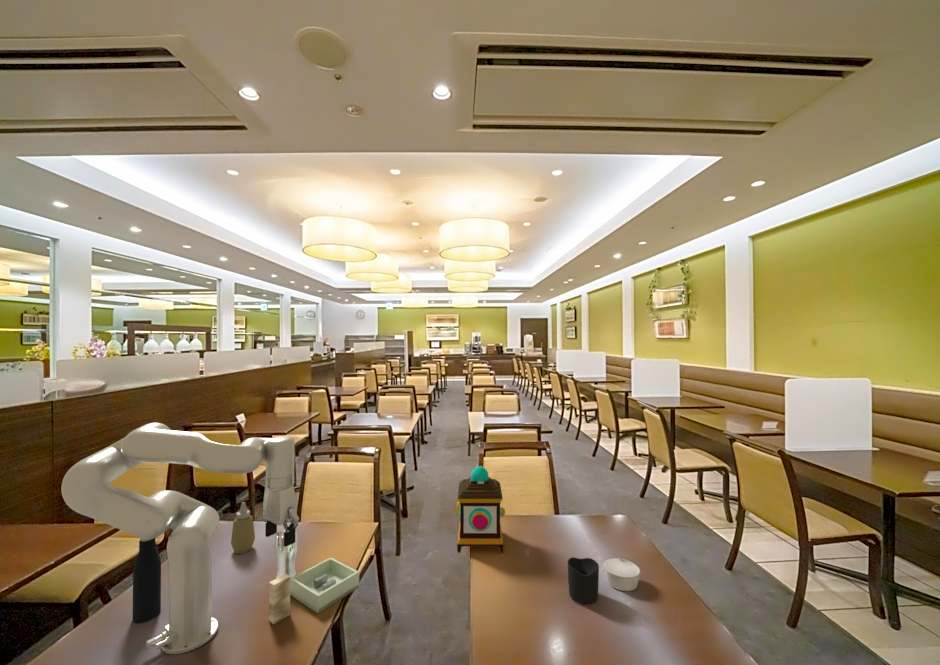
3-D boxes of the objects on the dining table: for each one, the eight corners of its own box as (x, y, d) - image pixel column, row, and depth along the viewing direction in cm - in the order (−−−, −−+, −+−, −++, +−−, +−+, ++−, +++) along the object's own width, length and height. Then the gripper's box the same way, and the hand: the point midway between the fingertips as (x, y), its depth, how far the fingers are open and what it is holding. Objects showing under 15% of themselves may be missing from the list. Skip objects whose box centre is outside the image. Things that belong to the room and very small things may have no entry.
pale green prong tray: (318, 613, 118) (318, 596, 118) (289, 594, 127) (289, 578, 127) (359, 587, 130) (359, 571, 130) (330, 571, 139) (330, 557, 139)
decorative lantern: (507, 556, 149) (506, 474, 149) (453, 555, 149) (453, 474, 149) (503, 530, 169) (502, 458, 169) (456, 530, 169) (456, 458, 169)
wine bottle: (137, 626, 113) (138, 519, 113) (128, 618, 116) (129, 514, 116) (164, 613, 118) (165, 511, 118) (155, 605, 121) (156, 506, 122)
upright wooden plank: (273, 624, 113) (273, 585, 114) (268, 620, 115) (269, 582, 115) (290, 614, 117) (290, 576, 118) (285, 611, 119) (285, 573, 119)
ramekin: (645, 582, 132) (645, 566, 132) (632, 598, 124) (632, 581, 124) (612, 569, 140) (612, 554, 140) (598, 583, 132) (598, 567, 132)
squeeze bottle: (259, 548, 155) (259, 501, 155) (237, 557, 148) (238, 508, 148) (247, 542, 159) (248, 496, 159) (226, 551, 152) (226, 504, 152)
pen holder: (577, 583, 132) (577, 552, 132) (604, 596, 125) (604, 564, 125) (562, 596, 125) (561, 564, 125) (589, 610, 119) (589, 576, 119)
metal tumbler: (288, 584, 132) (288, 538, 132) (269, 581, 133) (270, 536, 134) (301, 572, 139) (301, 528, 139) (283, 569, 140) (283, 526, 140)
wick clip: (324, 594, 125) (324, 586, 125) (314, 587, 128) (314, 579, 128) (335, 587, 128) (335, 579, 128) (324, 581, 132) (324, 573, 132)
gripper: (252, 478, 119) (252, 536, 118) (284, 490, 109) (284, 554, 109) (276, 471, 125) (276, 526, 125) (309, 482, 115) (309, 542, 115)
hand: (280, 539), depth 117 cm, fingers open, 9 cm apart
